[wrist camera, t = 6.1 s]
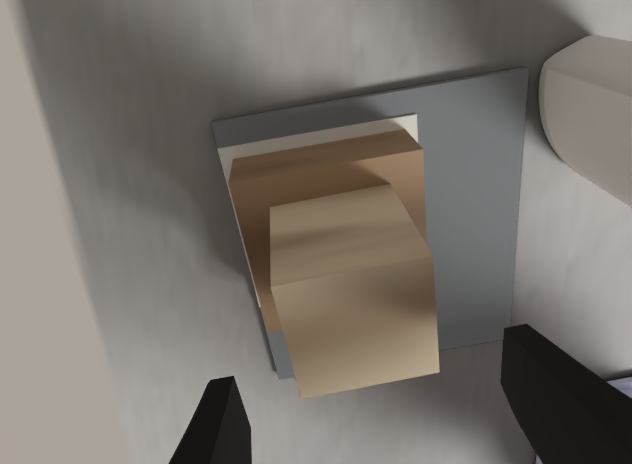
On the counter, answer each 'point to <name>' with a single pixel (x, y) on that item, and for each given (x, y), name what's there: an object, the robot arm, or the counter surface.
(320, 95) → the counter surface
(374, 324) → the beech block
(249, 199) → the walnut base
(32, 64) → the counter surface
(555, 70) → the eye dropper bottle
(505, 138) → the slate mat
